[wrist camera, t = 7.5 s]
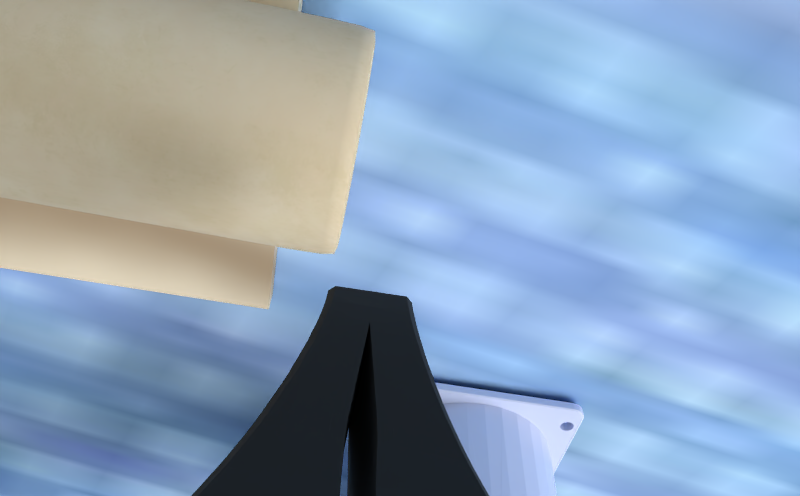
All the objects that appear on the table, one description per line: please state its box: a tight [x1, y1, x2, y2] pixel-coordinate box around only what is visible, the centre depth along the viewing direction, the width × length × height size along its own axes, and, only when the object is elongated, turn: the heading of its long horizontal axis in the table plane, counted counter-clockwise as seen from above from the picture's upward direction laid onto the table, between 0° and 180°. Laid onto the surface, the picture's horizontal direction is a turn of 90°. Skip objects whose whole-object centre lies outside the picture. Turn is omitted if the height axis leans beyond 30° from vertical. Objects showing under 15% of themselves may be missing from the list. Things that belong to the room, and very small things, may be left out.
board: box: [0, 0, 303, 309], centre depth 19 cm, size 18×14×1 cm
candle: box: [0, 0, 375, 254], centre depth 17 cm, size 6×6×10 cm
